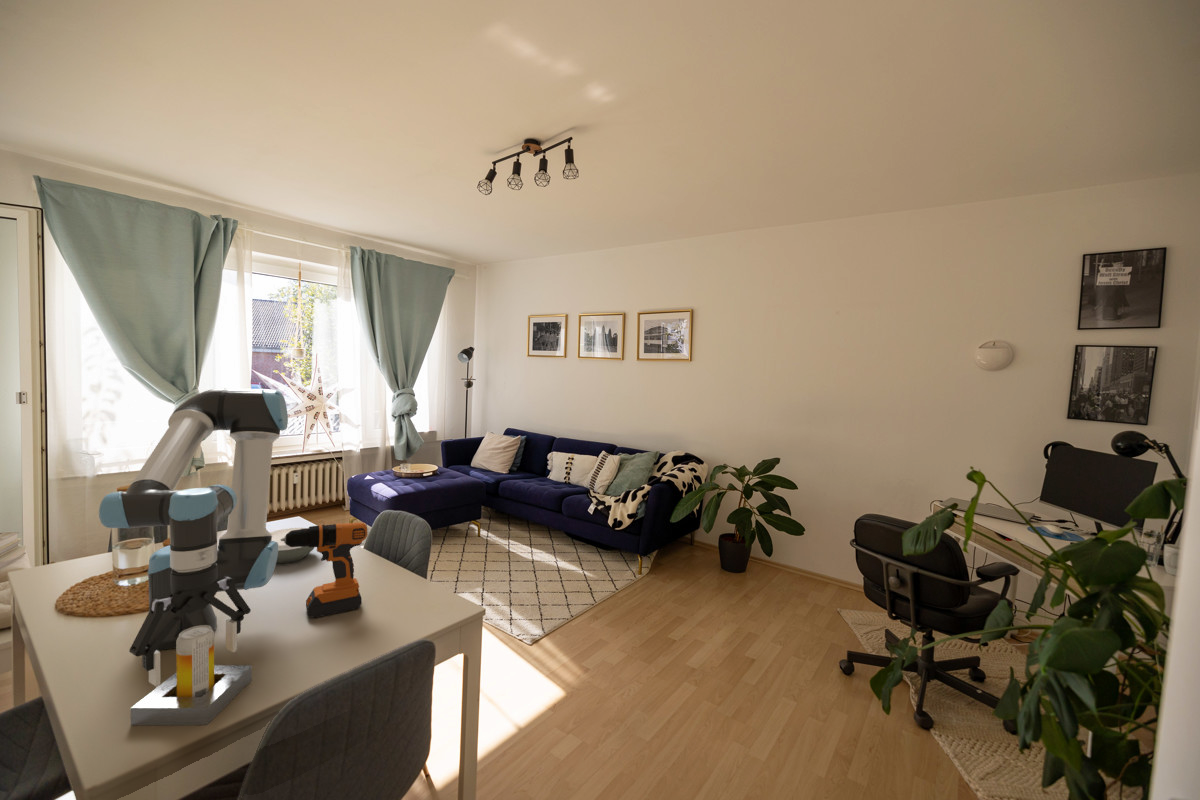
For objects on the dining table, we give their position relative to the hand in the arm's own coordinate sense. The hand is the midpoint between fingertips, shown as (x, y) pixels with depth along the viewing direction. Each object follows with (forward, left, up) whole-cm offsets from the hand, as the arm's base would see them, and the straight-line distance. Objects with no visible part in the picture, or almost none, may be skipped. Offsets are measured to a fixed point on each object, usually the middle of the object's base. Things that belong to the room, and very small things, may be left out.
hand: (195, 665), depth 104 cm
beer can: (0, 0, -8) cm, 8 cm away
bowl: (-22, +77, -8) cm, 80 cm away
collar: (0, 0, -8) cm, 8 cm away
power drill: (+8, +39, -8) cm, 41 cm away
